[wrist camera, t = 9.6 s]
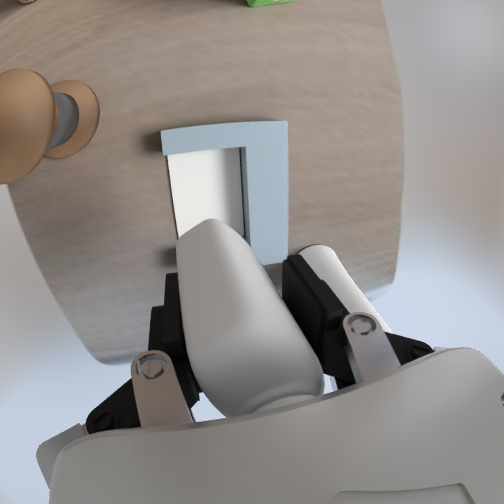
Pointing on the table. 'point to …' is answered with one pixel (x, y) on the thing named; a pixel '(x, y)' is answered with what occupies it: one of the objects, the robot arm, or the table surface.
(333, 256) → the cosmetic bottle
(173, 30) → the table surface
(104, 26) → the table surface
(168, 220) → the table surface
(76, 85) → the spool
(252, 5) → the ink box
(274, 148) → the notched board
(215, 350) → the eye dropper bottle
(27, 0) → the sprinkles bottle
